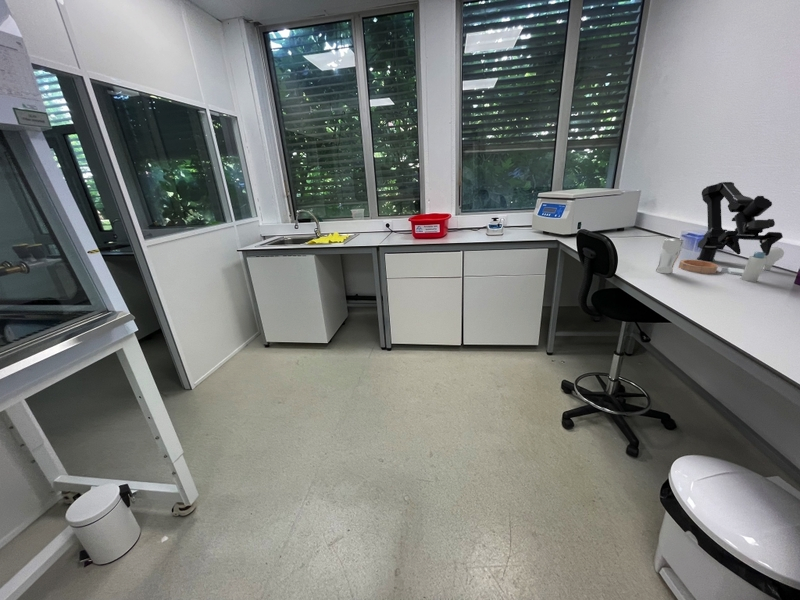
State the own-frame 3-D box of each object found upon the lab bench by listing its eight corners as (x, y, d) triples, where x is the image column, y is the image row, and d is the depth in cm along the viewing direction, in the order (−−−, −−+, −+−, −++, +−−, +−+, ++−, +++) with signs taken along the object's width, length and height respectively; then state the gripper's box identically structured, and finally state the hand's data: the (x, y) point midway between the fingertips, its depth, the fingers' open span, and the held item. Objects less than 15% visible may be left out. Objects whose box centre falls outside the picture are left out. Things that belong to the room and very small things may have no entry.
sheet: (727, 269, 146) (728, 267, 146) (742, 271, 144) (743, 269, 143) (730, 273, 141) (731, 271, 141) (746, 275, 138) (747, 273, 138)
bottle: (740, 278, 137) (751, 250, 132) (756, 280, 133) (768, 252, 129) (740, 280, 134) (751, 252, 129) (756, 283, 130) (769, 254, 126)
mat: (721, 268, 149) (722, 267, 149) (752, 273, 142) (752, 272, 142) (720, 273, 143) (720, 272, 143) (752, 278, 136) (752, 277, 136)
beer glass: (666, 269, 149) (677, 237, 143) (677, 274, 142) (688, 241, 137) (650, 269, 150) (660, 237, 144) (660, 274, 143) (671, 241, 137)
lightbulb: (771, 269, 147) (782, 246, 142) (778, 273, 141) (789, 249, 137) (752, 268, 149) (762, 244, 145) (759, 271, 144) (769, 247, 140)
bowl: (680, 264, 157) (683, 258, 155) (716, 269, 148) (719, 263, 147) (676, 270, 148) (678, 263, 147) (714, 276, 140) (716, 269, 138)
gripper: (732, 211, 134) (739, 242, 128) (789, 212, 128) (799, 245, 123) (714, 227, 144) (720, 257, 138) (767, 228, 138) (775, 259, 133)
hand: (752, 254), depth 133 cm, fingers open, 9 cm apart
